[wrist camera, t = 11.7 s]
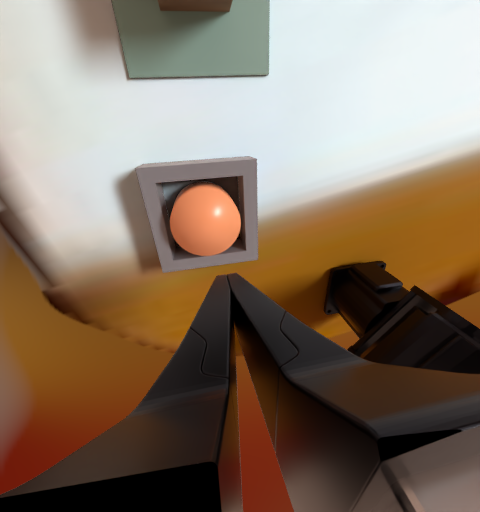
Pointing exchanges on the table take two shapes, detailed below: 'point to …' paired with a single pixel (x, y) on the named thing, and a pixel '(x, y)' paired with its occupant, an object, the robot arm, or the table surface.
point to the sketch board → (193, 39)
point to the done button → (204, 219)
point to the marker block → (195, 5)
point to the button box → (193, 170)
